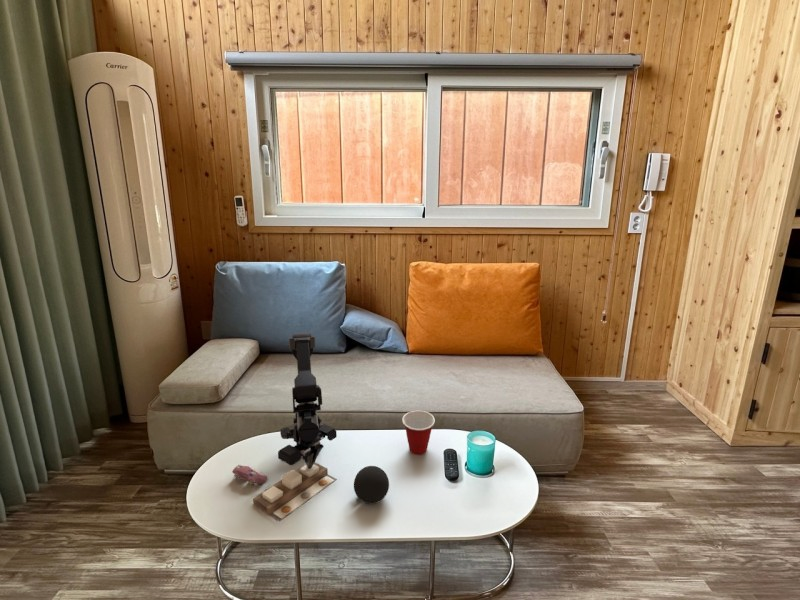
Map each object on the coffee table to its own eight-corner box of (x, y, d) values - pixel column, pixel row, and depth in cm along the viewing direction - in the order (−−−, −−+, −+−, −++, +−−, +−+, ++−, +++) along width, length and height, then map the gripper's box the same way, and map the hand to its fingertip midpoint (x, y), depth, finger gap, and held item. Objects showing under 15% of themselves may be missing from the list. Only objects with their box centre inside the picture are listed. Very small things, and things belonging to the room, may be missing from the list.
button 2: (310, 470, 144) (310, 462, 144) (319, 475, 142) (319, 467, 141) (300, 477, 141) (300, 468, 140) (309, 482, 139) (309, 473, 138)
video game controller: (236, 482, 142) (226, 470, 138) (246, 469, 145) (236, 457, 141) (261, 492, 138) (251, 480, 133) (270, 478, 141) (261, 466, 136)
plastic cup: (399, 458, 152) (400, 425, 149) (404, 440, 162) (404, 409, 159) (432, 461, 151) (433, 428, 147) (435, 442, 161) (436, 411, 158)
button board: (311, 467, 147) (311, 460, 146) (337, 480, 141) (337, 473, 140) (253, 506, 130) (253, 498, 129) (279, 523, 124) (278, 515, 123)
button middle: (292, 478, 139) (292, 469, 138) (302, 483, 136) (301, 474, 135) (282, 485, 135) (281, 476, 135) (291, 490, 133) (290, 481, 132)
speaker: (347, 506, 130) (347, 475, 128) (363, 484, 139) (363, 455, 137) (380, 515, 127) (380, 484, 124) (394, 493, 136) (394, 463, 133)
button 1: (274, 494, 134) (273, 485, 133) (283, 500, 131) (282, 491, 130) (262, 502, 130) (262, 493, 130) (272, 508, 128) (271, 499, 127)
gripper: (311, 401, 149) (313, 444, 153) (263, 426, 134) (267, 473, 138) (337, 412, 142) (338, 456, 146) (289, 439, 128) (292, 488, 132)
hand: (309, 467), depth 141 cm, fingers closed, pressing on button 2
